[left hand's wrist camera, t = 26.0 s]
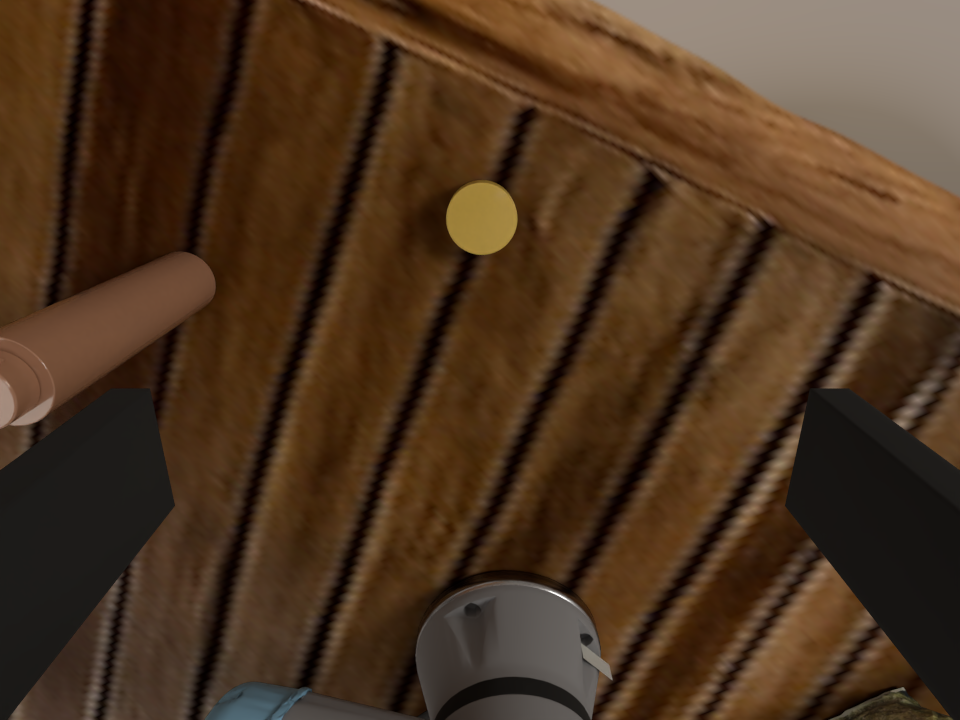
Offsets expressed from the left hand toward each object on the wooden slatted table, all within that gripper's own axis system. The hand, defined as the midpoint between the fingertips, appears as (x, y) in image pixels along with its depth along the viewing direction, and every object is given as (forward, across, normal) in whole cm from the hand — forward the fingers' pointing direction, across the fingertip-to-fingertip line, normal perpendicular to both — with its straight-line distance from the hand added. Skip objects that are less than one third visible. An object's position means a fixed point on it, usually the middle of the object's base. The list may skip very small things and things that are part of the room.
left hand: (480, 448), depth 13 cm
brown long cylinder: (+29, +20, +4) cm, 35 cm away
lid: (+28, 0, 0) cm, 28 cm away
